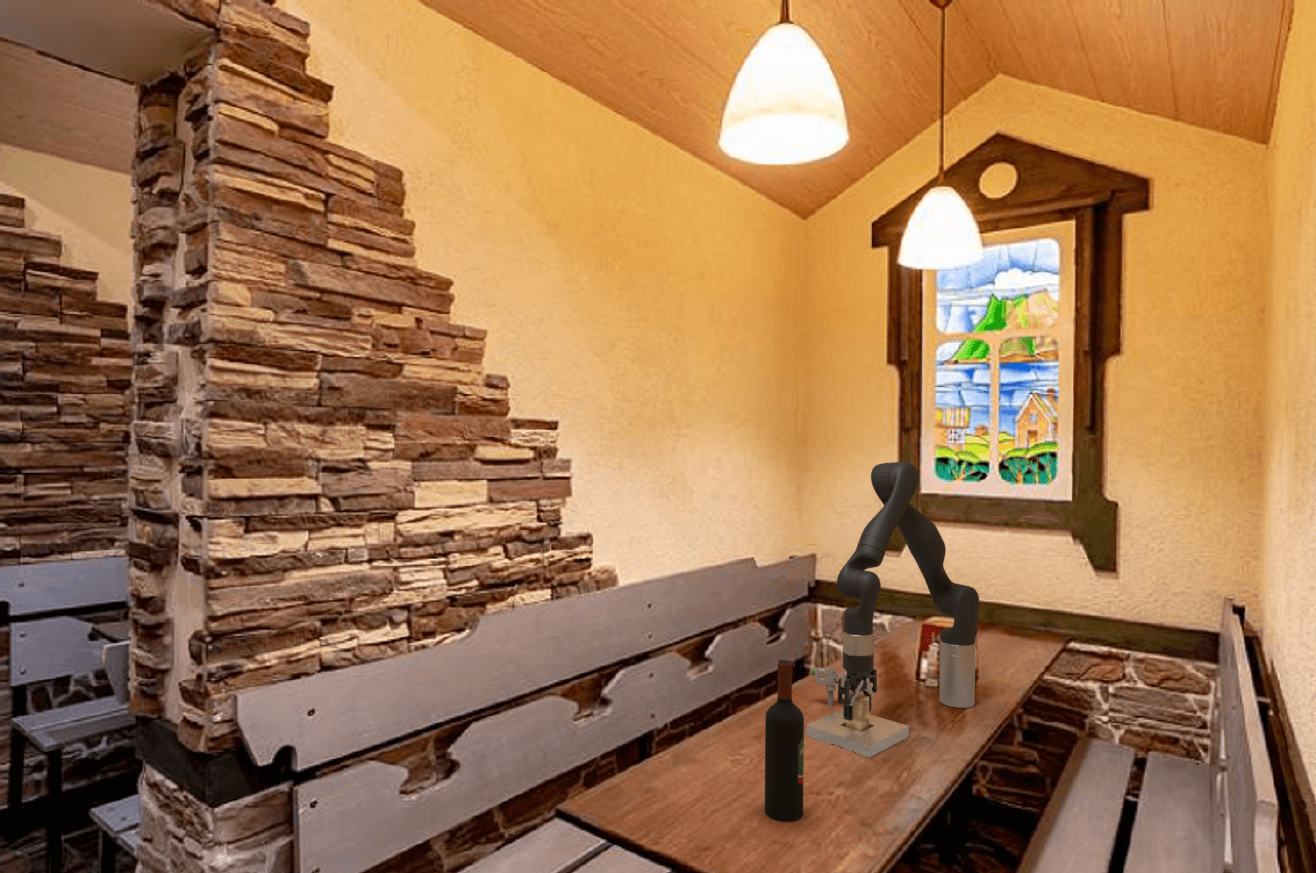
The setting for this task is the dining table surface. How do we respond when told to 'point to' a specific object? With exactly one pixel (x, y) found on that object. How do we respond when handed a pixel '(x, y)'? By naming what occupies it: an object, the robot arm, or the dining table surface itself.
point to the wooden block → (859, 714)
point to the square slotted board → (857, 733)
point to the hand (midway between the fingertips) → (857, 715)
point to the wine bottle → (784, 752)
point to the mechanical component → (828, 680)
